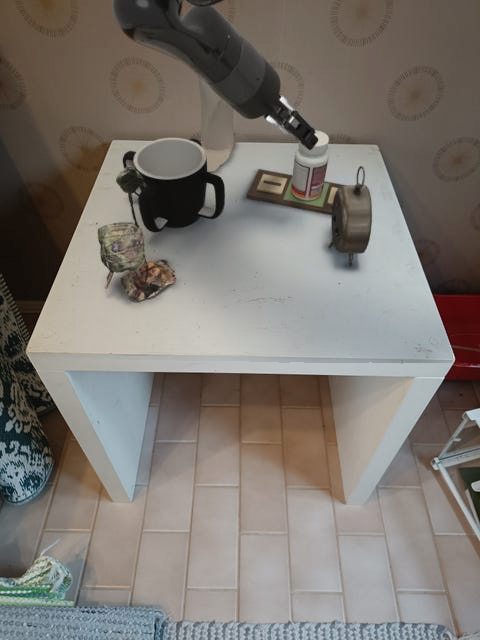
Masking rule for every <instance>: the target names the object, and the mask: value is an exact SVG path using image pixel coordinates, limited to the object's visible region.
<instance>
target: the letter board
mask: <svg viewBox="0 0 480 640" xmlns="http://www.w3.org/2000/svg"><path fill="white" fill-rule="evenodd" d="M292 176H293V174H288V173H283V172H277V171H272V170H268V169H267V170H266V169H262V168H258V170H257V172H256V174H255V176H254V178H253V181H251V185H250V187H249V189H248V191H247V193H246V199H250V200H254V201H259V202H264V203H269V204H274V205H280V206H284V207H290V208H294V209H298V210H299V209H300V210H305V211H308V212H309V211H310V212H313V213H318V214H319V213H320V214H325V215H329V216H332V208H331V205H333V200H334V196H335V193H336V191H337V190H338V189H339V188H340V187H341V186H347V185H346V184H342V183H337V182H331V181H324V186H323V191H322V194H321V195H320V197H318V198H317V199H314V200H309V201H308V200H301V199H299V198H297V197H295V196H294V195H293V194H292V192H291V184H292Z"/></svg>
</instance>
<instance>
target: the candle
mask: <svg viewBox="0 0 480 640" xmlns="http://www.w3.org/2000/svg"><path fill="white" fill-rule="evenodd" d="M197 82H198V87H199V98H200V99H199V100H200V143H201V145H202V148H203V149H204V151H205V152H206V156H207V172H209V173H212V172H213V173H214V172H216V171H217V170H218V169H219V167H221V166H222V165H224V164H225V163H227V162H228V160H229V159H230V157H231V155H232V152H233V150H234V149H235V130H234V109H233V108H232V107H231V106H230V105H229V104H227V103H226V102H225V101H224V100H223V99H222V98H220V97H219V96H218V95H217V94H216V93H215V92H214V91H213V90H212V89H211V88H210V87H209V85H208V84H207V83H206V82H205V81H204V80H203V79H202V78H201V77H199V76H198V75H197Z"/></svg>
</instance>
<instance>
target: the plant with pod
mask: <svg viewBox="0 0 480 640" xmlns="http://www.w3.org/2000/svg"><path fill="white" fill-rule="evenodd" d="M115 182H116V184H117V185H118V186H119V188H120V189H121V190H122V192H124V193H125V194H127V197H128V201H129V204H130V209H131V215H132V219H133V222H134V223H133V222H132V221H131V222H128V221H119V222H113V223H110V224H105V225H103V226H100V227H98V228H97V241H98V243H99V245H100V248H99V249H100V250H99V255H100V261H101V263H102V264H103V266H105V268H107V269H108V271H109V272H108V274H107V276H106V281H105V285H104V289H106V290H107V289H108V287H109V286H110V283H111V280H112V278H113V276H114V273H116V274H119V273H124V272H125V273H124V274H122V276H121V277H119V279H120V280H119V284H120V285H121V286H122V287H123V289H124V292H125V294H126V295H127V296H128V299H130V300H132V301H133V302H137V301H138V302H141V301H143V300H146V299H148V298H151V297H154V296H156V295H157V294H158V293H159V292H160V291H161V290H162V289H166V288H167V285H170V284H175V283H176V280H177V279H176V278H177V277H176V275H175V274H174V273H176V272H175V271H176V270H173V269H171V266H170V264H168V260H167V259H162V258H161V259H159V260H156V261H154V262H153V261H147V258H146V253H145V252H146V250H145V235H144V233H143V229H142V228H141V226H140V225H139V224H138V220H137V215H136V212H135V207H134V200H133V195H132V194H135V193H134V192H135V191H136V190H137V189H138V187H139V186H140V185H142V186H144V187H146V186H147V185H146V184H145V183H144V182H143V177H142V176H141V174H140V173H139V172H138V171H136V169H134V168H133V167H132V166H130V165H129V166H127V167H126V168H125V169H124V168H123V169H122V170H121V171H119V172H118V174H117V176H116V179H115ZM98 224H99V222H95V224H94V225H95V226H96V225H97V226H98Z"/></svg>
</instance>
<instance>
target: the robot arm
mask: <svg viewBox="0 0 480 640" xmlns="http://www.w3.org/2000/svg"><path fill="white" fill-rule="evenodd" d="M185 1H186V2H187V3H188V4H190V5H193V6H191V7H190V8H189V9H188V10H187V11H186V12H185V14H184V15H183V16H182V18H181V13H182V10H183V5H184V0H111V10H112V15H113V18H114V20H115V22H116V24H117V25H118V27H119V29H120V30H121V31H122V33H123V34H124V35H125V36H126V37H127V38H128V39H130V40H131V41H133V42H135V43H137V44H138V45H141V46H143V47H145V48H148V49H151V50H153V51H156V52H158V53H161V54H163V55H165V56H167V57H169V58H172V59H174V60H176V61H178V62H180V63H181V64H184V65H185V66H186V67H188V68H189V69H190V70H191V71H192V72H194V73H195V74H196V76H197V77H198V76H199V77H201V78H202V79H203V80H204V81H205V82H206V83H207V84H208V85H209V87H210V88H211V89H212V90H213V91H214V92H215V93H216V94H217V95H218V96H219V97H220V98H222V99H223V100H224V101H225V102H226V103H227V104H229V105H230V106H231V107H232V108H233V111H235V112H236V113H238V114H239V115H240V116H241V117H242V118H245V119H247V120H256V119H259V118H261V117H262V118H263V119H264V120H265V121H267V122H268V123H269V124H270V125H271V124H272V125H273V126H275V127H276V128H277V129H278V130H280V131H281V132H282V133H283V134H284V135H289V134H290V135H291V136H292V137H293V138H294V139H295V141H296V142H298V143H299V142H301V144H302V145H304V146H305V147H306V148H307V149H309V150H312V149H313V147H314V146H315V145H316V144H317V142H318V138H317V137H316V136H315V135H314V134H315V133H316V131H315V130H316V129H315V128H314V127H313V126H311V125H310V124H309V123H308V122H307V121H306V120H305V119H304V117H302V116H301V115H302V114H301V113H300V112H299V111H297V110H296V109H295V108H294V107H293V106H292V105H290V103H289V101H288V99H287V98H285V97H284V95H282V94H280V93H281V78H280V76H279V73H278V72H277V70H275V69H274V67H273V66H272V65H271V64H270V62H268V61H267V59H266V58H265V57H264V56H263V55H262V54H261V53H260V51H259V50H257V48H256V47H255V46H254V45H253V44H252V42H250V41H249V40H248V39H246V38H245V37H244V36H243V35H242V34H241V33H240V32H239V31H238V30H237V28H235V27H234V26H233V24H232V23H231V22H230V21H229V20H228V19H227V18H226V17H225V16H224V14H223V13H221V11H220V10H219V9H218V8H216V7H215V6H214V5H218V4H219V3H222V2H223V1H225V0H185Z"/></svg>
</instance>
